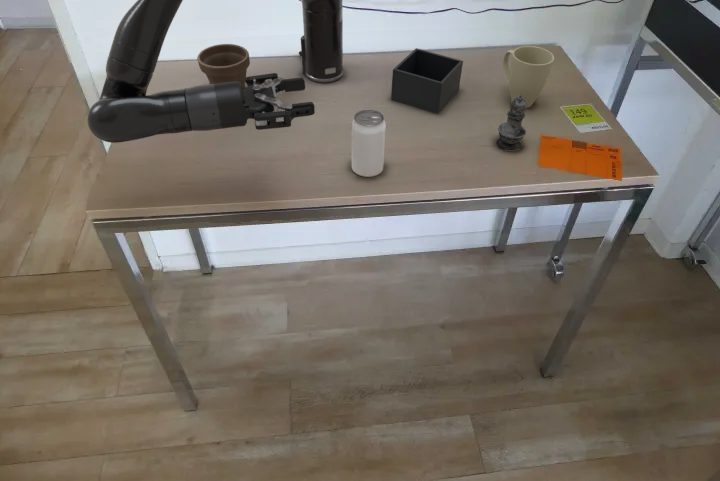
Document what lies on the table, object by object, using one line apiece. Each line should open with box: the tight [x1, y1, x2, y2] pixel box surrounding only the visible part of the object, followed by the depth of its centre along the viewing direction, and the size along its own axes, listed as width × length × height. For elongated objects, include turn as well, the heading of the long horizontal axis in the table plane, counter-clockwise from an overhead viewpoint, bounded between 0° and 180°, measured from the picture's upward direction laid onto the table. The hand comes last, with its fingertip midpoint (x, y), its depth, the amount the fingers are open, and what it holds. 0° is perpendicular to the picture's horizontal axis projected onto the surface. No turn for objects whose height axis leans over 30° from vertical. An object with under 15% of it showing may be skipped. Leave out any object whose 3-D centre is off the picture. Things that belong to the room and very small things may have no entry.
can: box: [351, 108, 387, 178], centre depth 110 cm, size 6×6×12 cm
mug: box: [502, 45, 555, 109], centre depth 129 cm, size 11×10×12 cm
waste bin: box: [390, 47, 464, 115], centre depth 132 cm, size 12×12×8 cm
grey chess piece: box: [496, 95, 527, 152], centre depth 117 cm, size 6×6×12 cm
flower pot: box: [197, 43, 251, 88], centre depth 130 cm, size 12×11×10 cm
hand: (309, 95), depth 99 cm, fingers open, 8 cm apart
